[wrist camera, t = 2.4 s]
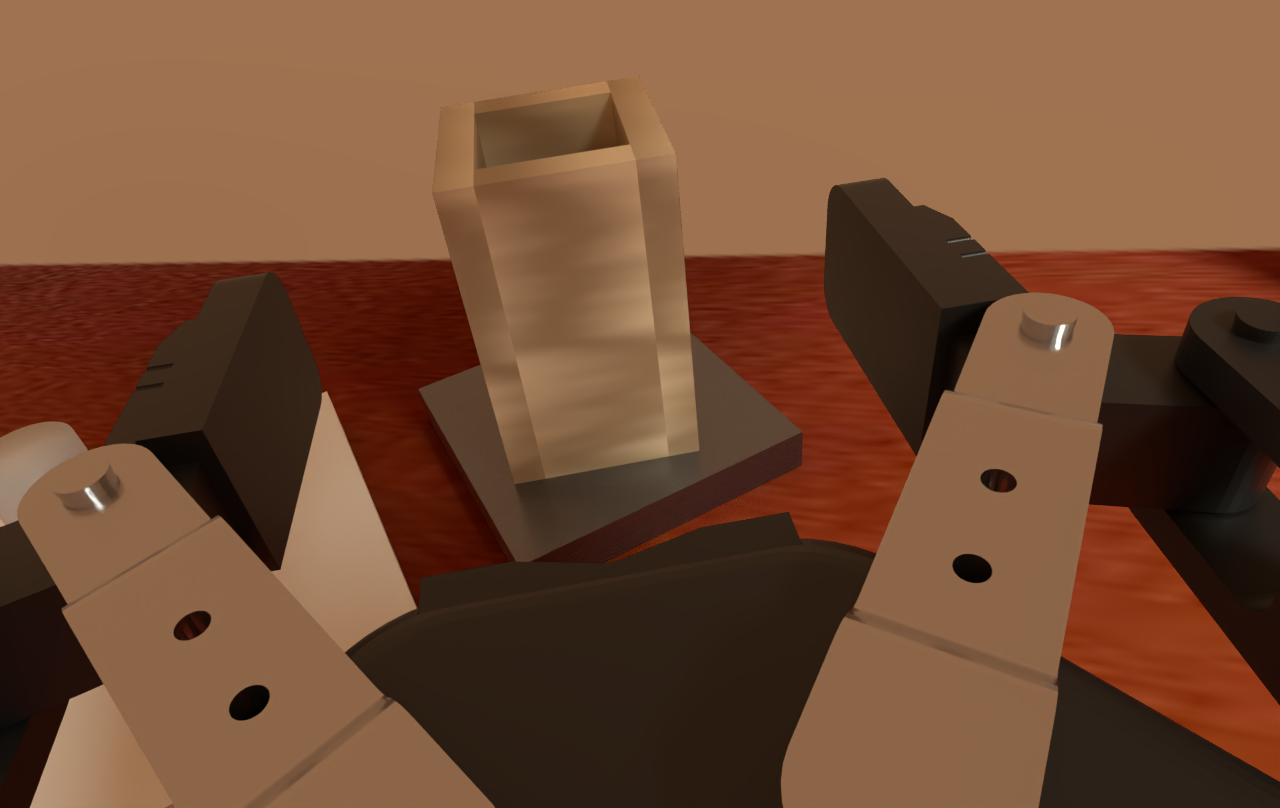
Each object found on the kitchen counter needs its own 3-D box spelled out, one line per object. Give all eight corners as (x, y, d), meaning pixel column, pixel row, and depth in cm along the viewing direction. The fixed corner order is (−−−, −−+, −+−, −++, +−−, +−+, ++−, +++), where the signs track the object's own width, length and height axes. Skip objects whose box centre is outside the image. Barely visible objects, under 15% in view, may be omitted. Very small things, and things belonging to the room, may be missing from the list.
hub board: (340, 421, 32) (264, 250, 28) (455, 699, 22) (369, 509, 18) (-71, 580, 28) (-244, 411, 23) (-152, 1014, 18) (-484, 873, 13)
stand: (655, 328, 35) (630, 103, 29) (801, 465, 28) (808, 205, 22) (428, 419, 32) (347, 188, 26) (528, 598, 25) (449, 339, 19)
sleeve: (666, 345, 31) (639, 76, 25) (699, 450, 27) (675, 153, 20) (509, 372, 31) (440, 107, 25) (514, 484, 26) (432, 192, 20)
